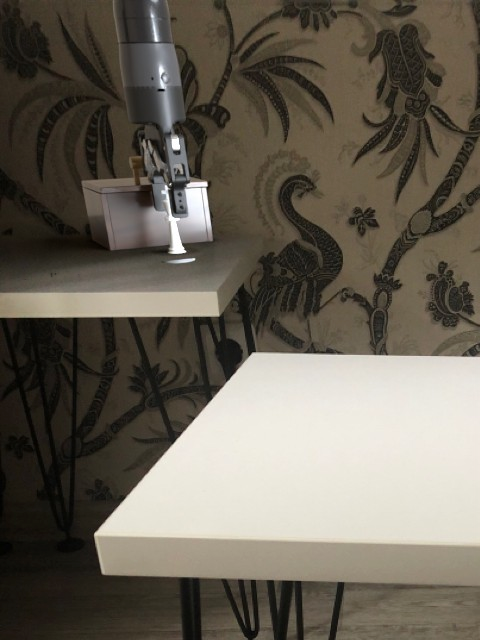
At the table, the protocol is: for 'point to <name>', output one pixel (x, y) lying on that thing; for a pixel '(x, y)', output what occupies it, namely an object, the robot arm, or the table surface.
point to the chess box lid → (131, 181)
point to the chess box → (144, 219)
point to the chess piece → (173, 232)
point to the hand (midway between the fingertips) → (171, 214)
